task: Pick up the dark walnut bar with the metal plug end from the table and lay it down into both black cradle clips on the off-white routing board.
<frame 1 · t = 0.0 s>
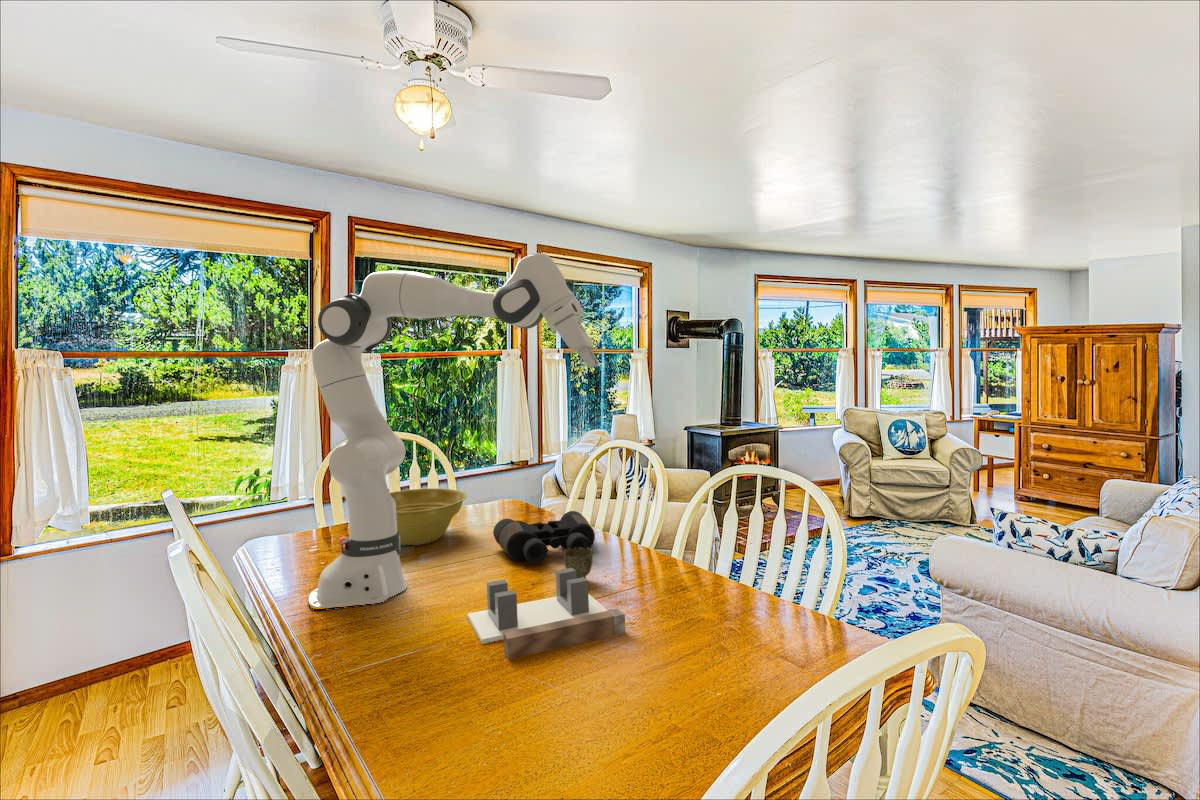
hand: (594, 366, 144), 54 cm above the table, tool tilted 30°, fingers open, 8 cm apart
planter bowl: (417, 540, 196), on the table
cup: (579, 582, 154), on the table
walnut bar: (560, 643, 120), on the table
binoculars: (549, 554, 178), on the table
routing board: (538, 617, 133), on the table
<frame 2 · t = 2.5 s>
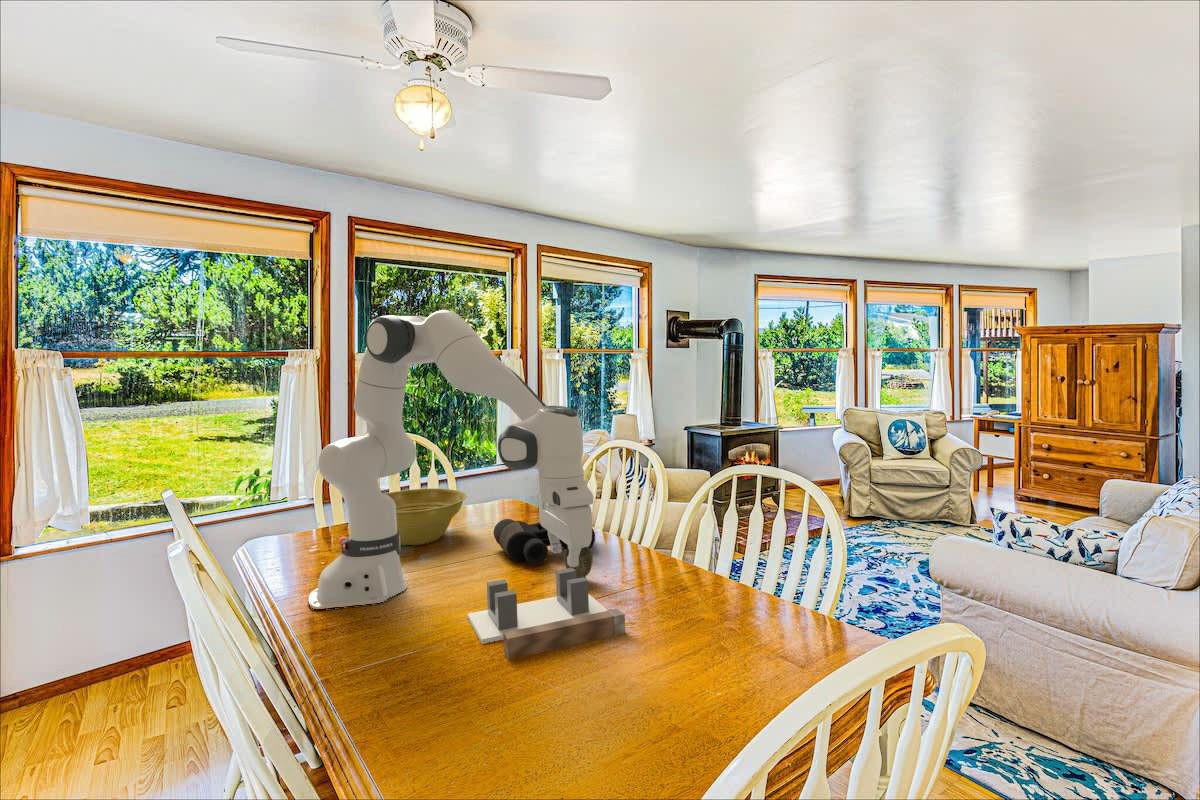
hand: (564, 558, 120), 17 cm above the table, tool pointing down, fingers open, 8 cm apart
nothing on the table moved.
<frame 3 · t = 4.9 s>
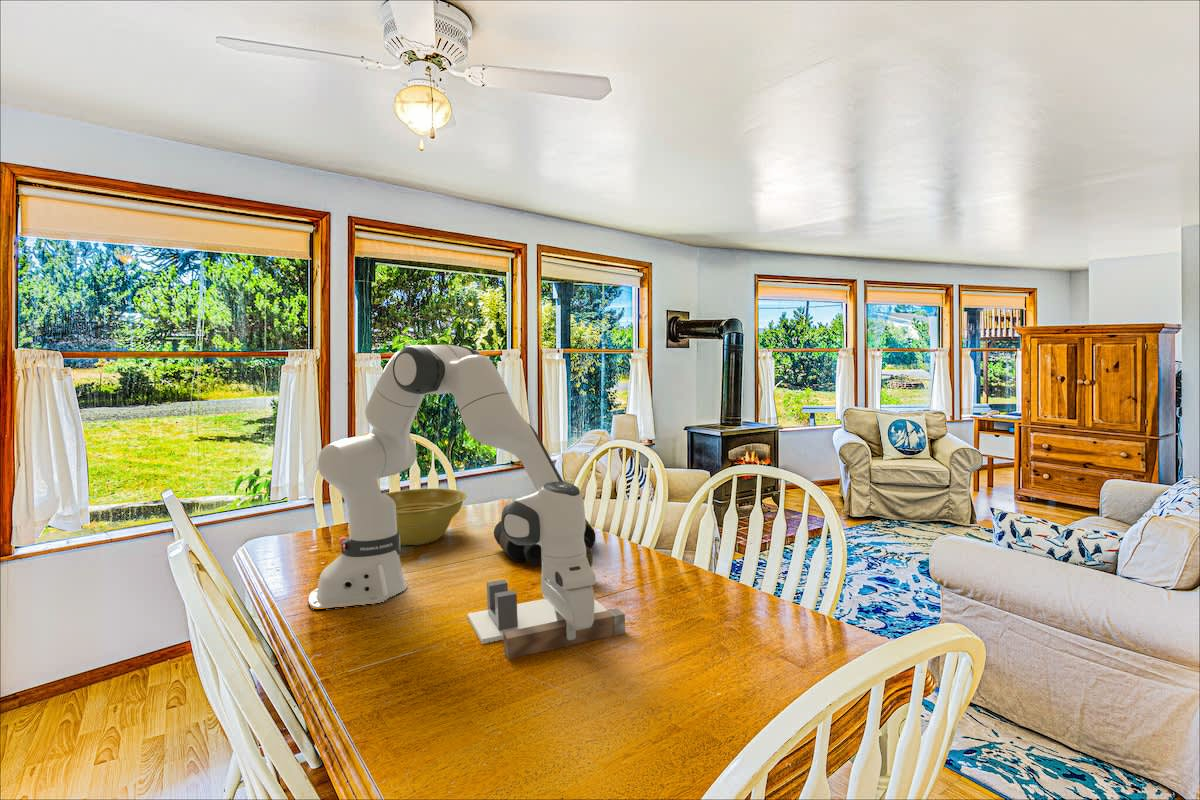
hand: (566, 633, 121), 2 cm above the table, tool pointing down, fingers closed on walnut bar, 3 cm apart
walnut bar: (560, 643, 120), on the table, touching gripper
everything else where it was.
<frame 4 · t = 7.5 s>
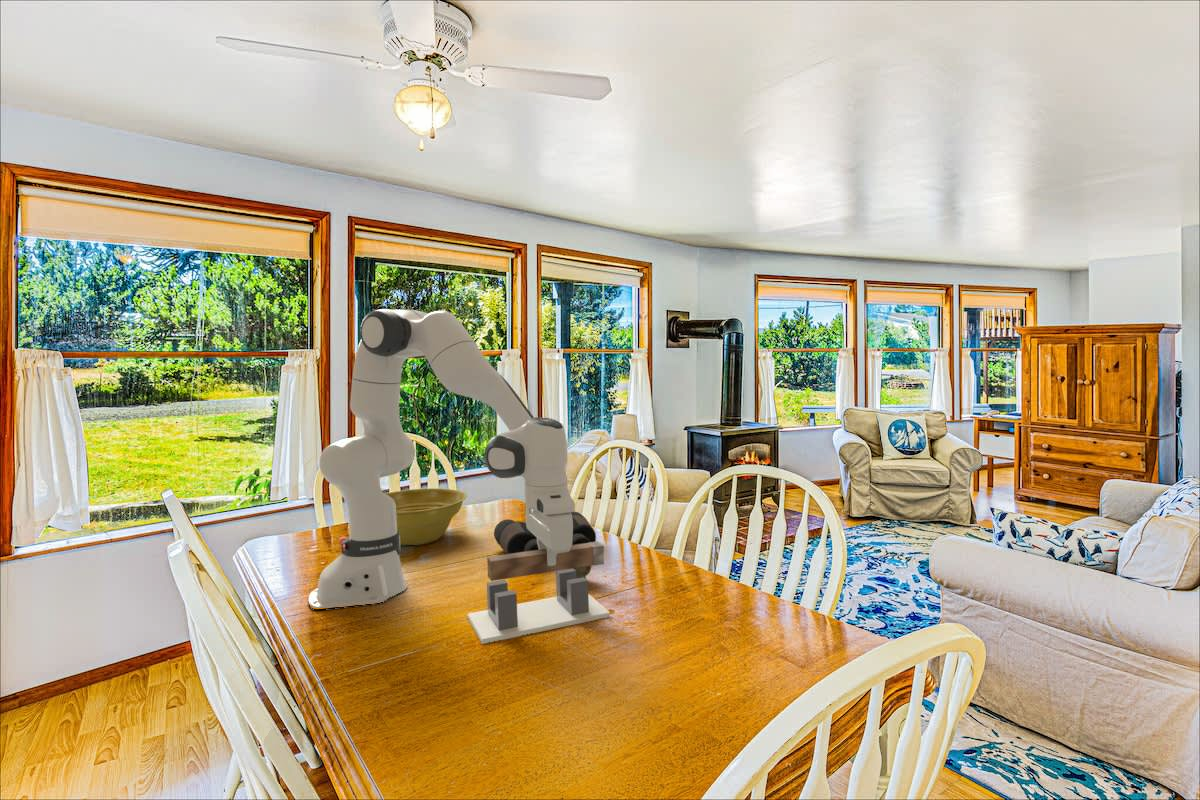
hand: (547, 561, 127), 14 cm above the table, tool pointing down, fingers closed on walnut bar, 3 cm apart
walnut bar: (541, 570, 127), point 12 cm above the table, touching gripper
everything else where it was.
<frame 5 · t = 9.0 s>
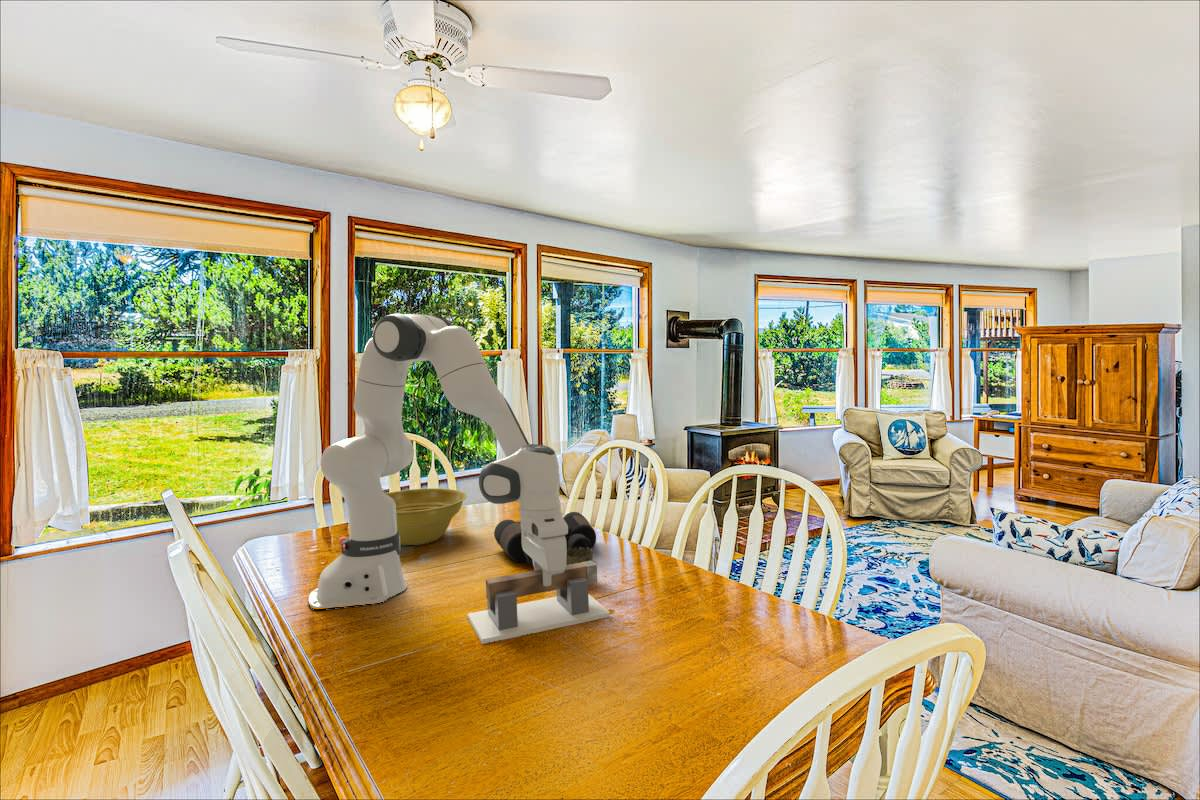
hand: (543, 581, 133), 8 cm above the table, tool pointing down, fingers closed on walnut bar, 3 cm apart
walnut bar: (538, 590, 133), point 6 cm above the table, touching gripper
when the fingers open (6 cm above the table, at t = 10.0 s): walnut bar stays where it is, resting on routing board.
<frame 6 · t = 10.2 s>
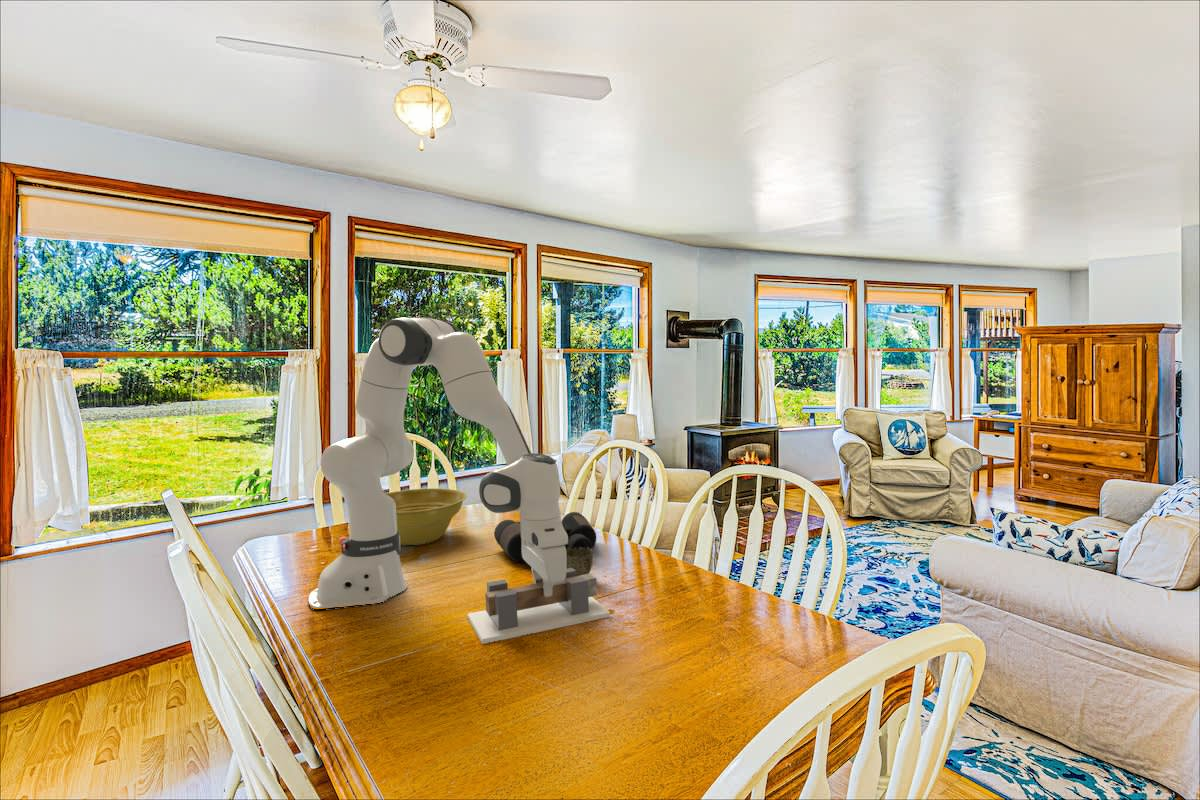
hand: (543, 590, 133), 6 cm above the table, tool pointing down, fingers open, 5 cm apart
walnut bar: (537, 603, 133), point 3 cm above the table, touching routing board
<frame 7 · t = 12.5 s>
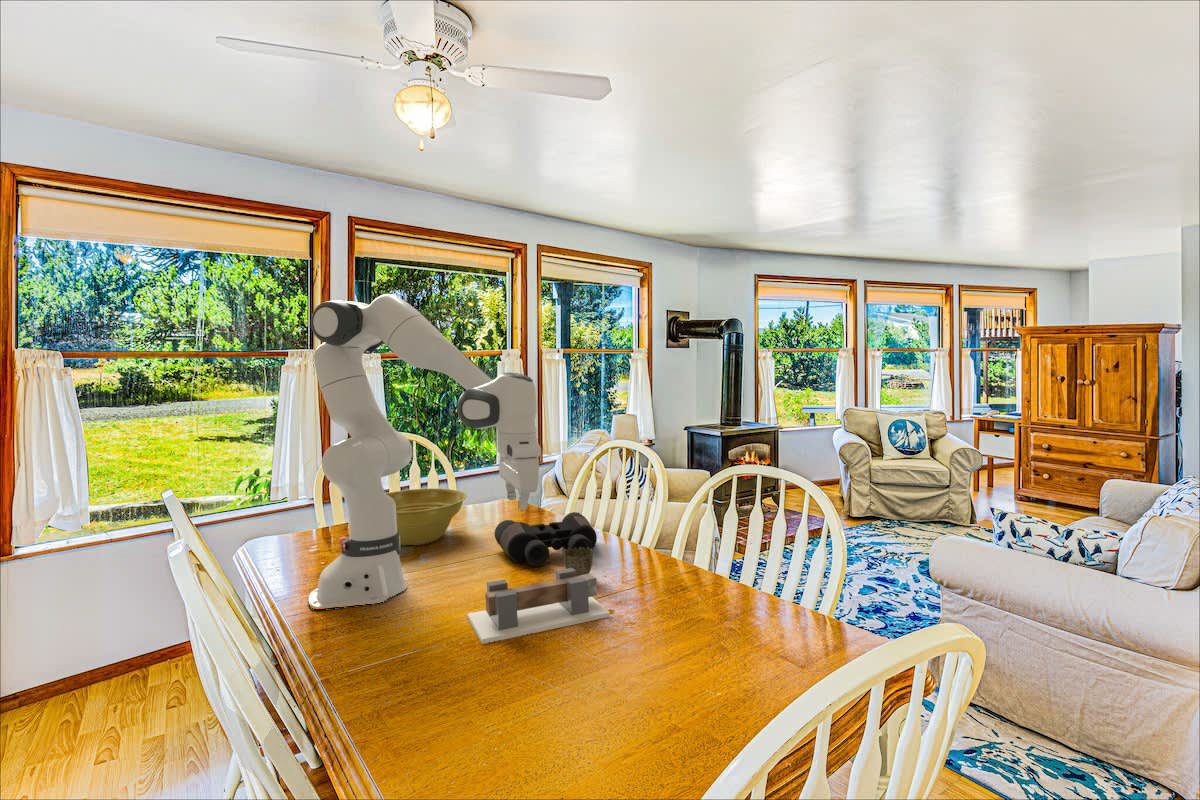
hand: (517, 504, 140), 23 cm above the table, tool pointing down, fingers open, 8 cm apart
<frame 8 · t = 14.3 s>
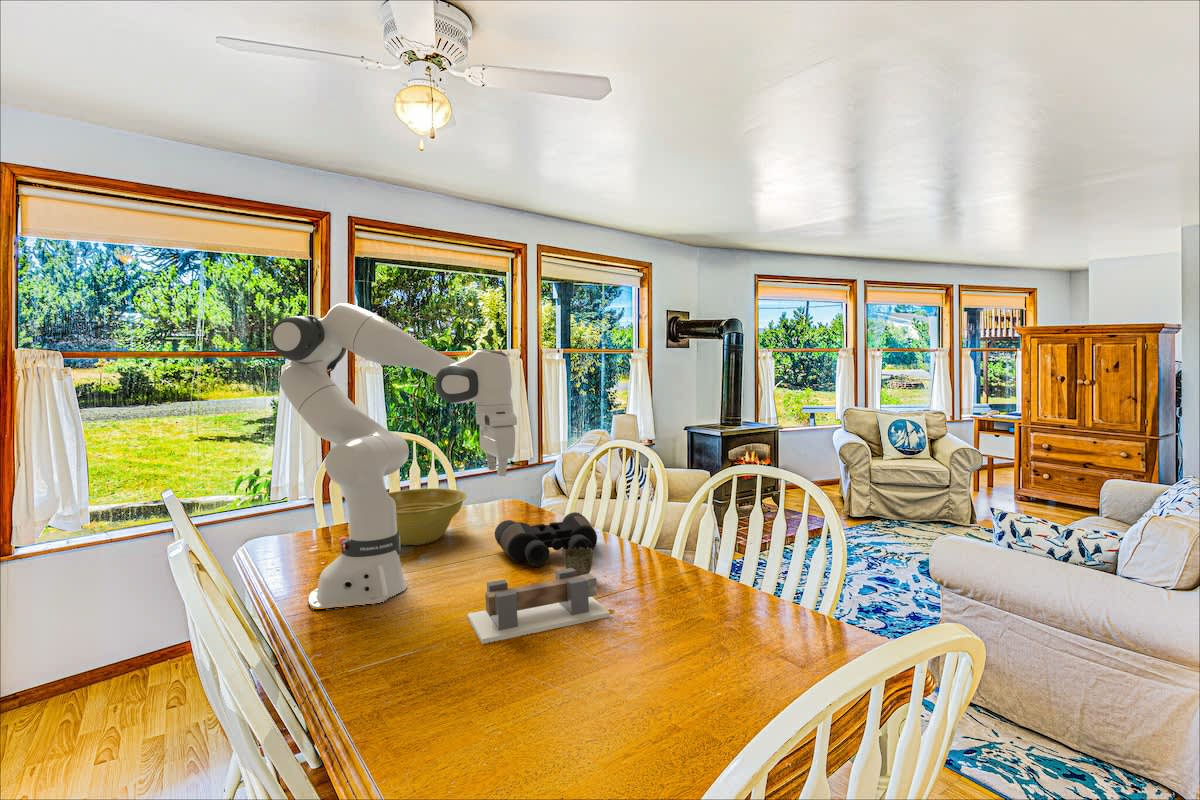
hand: (496, 472, 148), 29 cm above the table, tool pointing down, fingers open, 8 cm apart
at the end: walnut bar 0.1 cm off-centre on the routing board, point 3.0 cm above the routing board's base; walnut bar tilted 0°; the gripper is holding nothing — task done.
